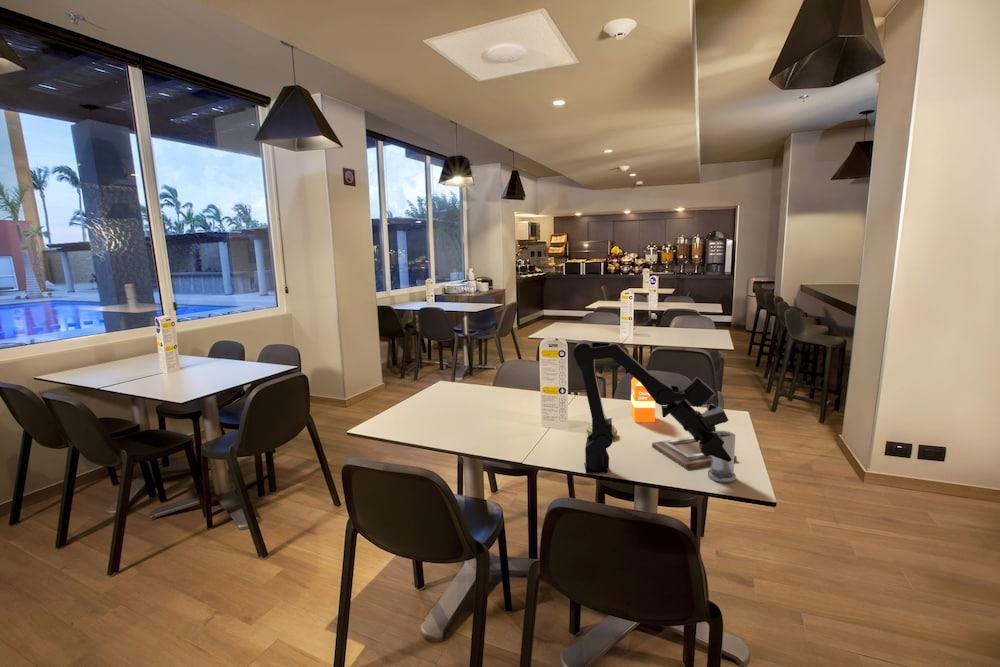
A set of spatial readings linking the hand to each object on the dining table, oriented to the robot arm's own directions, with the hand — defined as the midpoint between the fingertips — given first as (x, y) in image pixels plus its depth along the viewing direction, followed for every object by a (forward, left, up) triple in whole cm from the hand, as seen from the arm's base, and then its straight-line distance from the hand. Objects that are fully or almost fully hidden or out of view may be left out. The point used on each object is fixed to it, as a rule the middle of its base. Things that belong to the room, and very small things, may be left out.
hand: (727, 456), depth 135 cm
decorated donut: (-31, +33, -7) cm, 46 cm away
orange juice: (-13, +51, -7) cm, 53 cm away
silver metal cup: (-1, 0, -7) cm, 7 cm away
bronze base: (-4, +17, -7) cm, 19 cm away
